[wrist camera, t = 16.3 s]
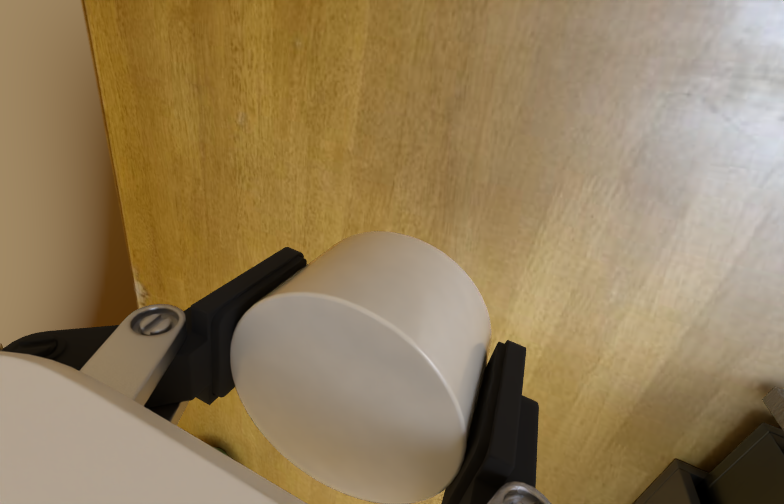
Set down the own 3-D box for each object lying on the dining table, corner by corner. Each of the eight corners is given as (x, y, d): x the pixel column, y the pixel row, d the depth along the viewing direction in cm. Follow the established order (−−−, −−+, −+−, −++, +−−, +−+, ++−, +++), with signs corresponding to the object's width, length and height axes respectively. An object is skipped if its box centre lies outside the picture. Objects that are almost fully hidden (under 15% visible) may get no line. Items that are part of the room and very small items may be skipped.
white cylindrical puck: (390, 187, 11) (314, 236, 7) (538, 350, 11) (531, 470, 8) (280, 297, 14) (194, 366, 11) (396, 420, 14) (347, 525, 11)
